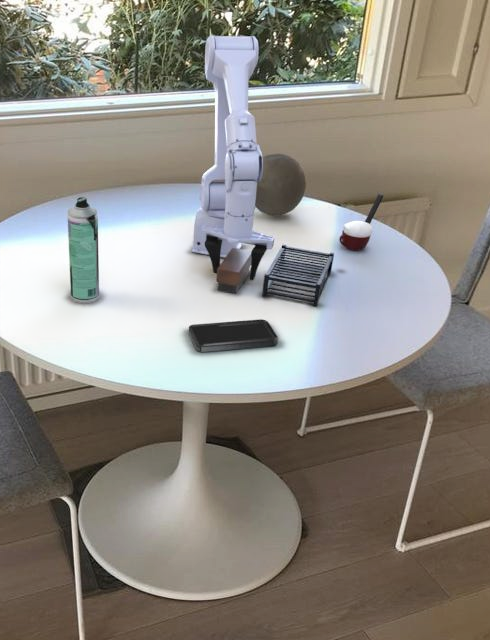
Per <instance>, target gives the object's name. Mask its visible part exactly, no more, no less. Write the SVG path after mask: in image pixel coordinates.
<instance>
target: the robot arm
mask: <svg viewBox="0 0 490 640" xmlns="http://www.w3.org/2000/svg"><path fill="white" fill-rule="evenodd" d="M259 49H260V48H259V41H258V39H257V38H256V36H255V35H251V36H239V35H238V36H236V35H235V36H233V35H232V36H231V35H228V36H227V35H213V34H211V35H209V36H208V37H207V38H206V41H205V49H204V74H205V80H207V81H208V82H211V83H212V84H213V89H214V98H215V99H214V165H213V166H212V167H210V168H209V169H208V170H206V171H205V172H204V173H203V175H202V177H201V184H200V189H199V191H200V192H199V203H200V208H198V210H197V212H196V214H195V218H194V224H193V225H194V226H193V239H192V240H193V241H192V249H191V252H192V253H195V254H199V255H200V254H201V255H206V256H209V259H210V263H211V266H212V272H213V274H216V275H217V268H218V267H219V266H220V264H221V258H223V259H225V257H226V256H227V255H228V253H229V252H230V250H231V249H232V248H237V249H242V247H243V244H245V245H250V246H254V247H253V248H252V250H250V251H251V266H250V270H249V281H254V280H255V278H256V275H257V271H258V268H259V265H260V263H261V261H262V260H263V257H264V255H265V253H266V252H267V250H270V251H271V250H272V249H273V248H274V246H275V239H276V237H275V236H271V235H267V234H265V233H261V232H258V231H255V230H253V229H254V219H255V212H256V211H255V210H256V209H255V208H256V207H255V200H256V190H257V181H256V180H258V181H260V179H261V177H262V171H263V158H262V157H263V153H262V150H261V147H260V144H258V141H257V130H256V129H257V128H256V118H255V116H254V115H253V114H251V112H249V80H250V78H251V76H253V74H254V72H255V71H254V70H255V69H256V67H257V65H258V60H259V53H260V51H259ZM218 180H219V181H218ZM223 180H225V181H223Z"/></svg>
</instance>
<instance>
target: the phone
mask: <svg viewBox="0 0 490 640" xmlns="http://www.w3.org/2000/svg"><path fill="white" fill-rule="evenodd" d="M188 335H189V337H190V340H191V341H192V344H193V347H194V349H195V350H196V351H197V352H200V353H207V352H208V353H209V352H218V351H219V352H220V351H231V350H243V349H254V348H255V349H257V348H267V347H268V348H269V347H275V346H278V342H279V337H278V335H277V333H276V332H275V331H274V329H273V328H272V325H271V324H270V323H269V321H268V320H266V319H264V318H263V319H262V318H261V319H248V320H236V321H233V320H232V321H223V322H222V321H221V322H209V323H208V322H207V323H196V324H195V323H194V324H190V325H188Z"/></svg>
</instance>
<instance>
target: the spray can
mask: <svg viewBox="0 0 490 640" xmlns="http://www.w3.org/2000/svg"><path fill="white" fill-rule="evenodd" d="M67 234H68V235H67V236H68V257H69V258H68V260H69V279H70V280H69V282H70V283H69V284H70V298H71V300H72V301H73V302H76V303H78V304H91V303H94V302H95V303H96V302H97V301H98V300H99V299H100V269H99V268H100V266H99V264H100V263H99V262H100V261H99V215H98V210H97V209H96V208H94V207H92V206H91V205H90V204H89V202H88V199H87V198H86V197H83V196H82V197H81V196H80V197H78V198H77V199H76V203H75V204H74V206H73V207H70V208H68V211H67Z"/></svg>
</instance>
